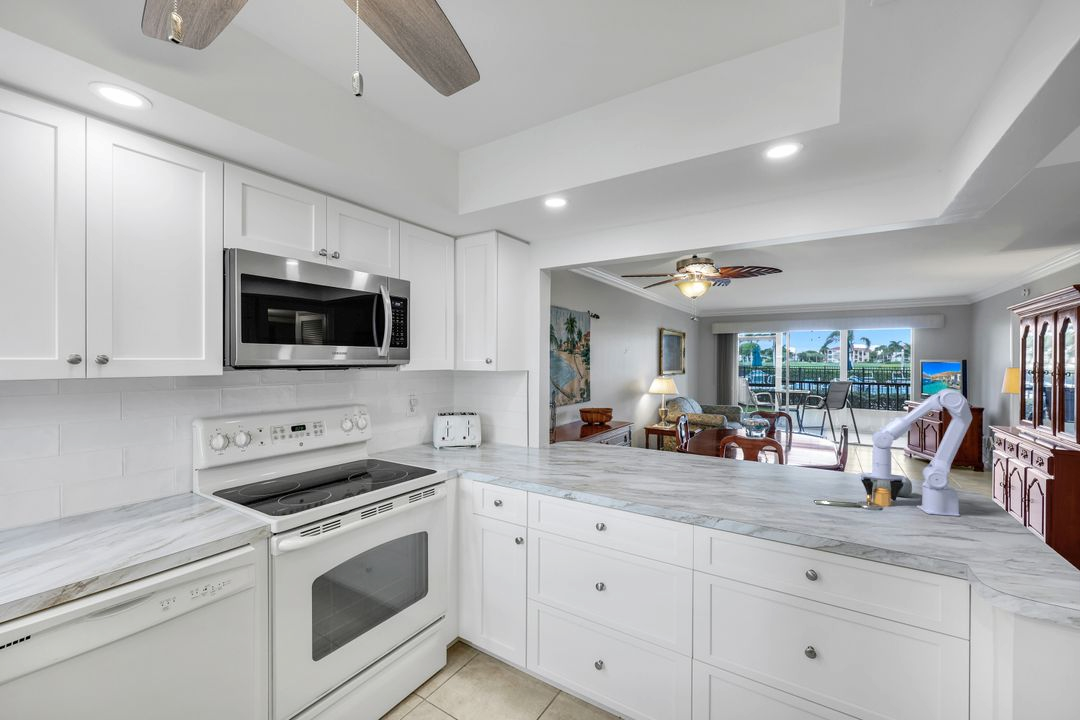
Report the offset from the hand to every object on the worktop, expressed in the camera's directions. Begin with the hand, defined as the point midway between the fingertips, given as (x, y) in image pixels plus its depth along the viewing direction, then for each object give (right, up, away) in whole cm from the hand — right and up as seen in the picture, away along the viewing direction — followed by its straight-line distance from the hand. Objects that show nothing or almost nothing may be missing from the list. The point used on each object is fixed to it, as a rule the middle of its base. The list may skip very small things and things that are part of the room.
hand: (881, 499), depth 173 cm
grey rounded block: (+12, -2, +11) cm, 17 cm away
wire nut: (0, -2, 0) cm, 2 cm away
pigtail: (-14, -2, -1) cm, 14 cm away
